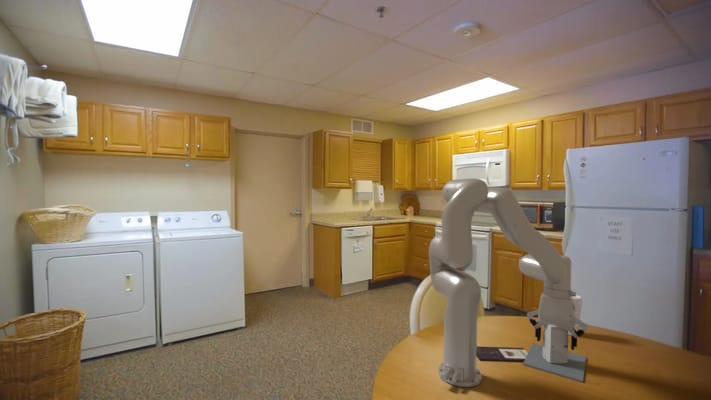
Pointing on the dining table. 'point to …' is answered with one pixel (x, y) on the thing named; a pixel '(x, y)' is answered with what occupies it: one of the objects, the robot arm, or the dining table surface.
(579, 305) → the white hollow tapered cylinder
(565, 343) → the skincare box
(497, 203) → the robot arm
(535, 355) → the mat
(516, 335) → the dining table surface
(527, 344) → the dining table surface
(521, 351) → the chocolate bar
